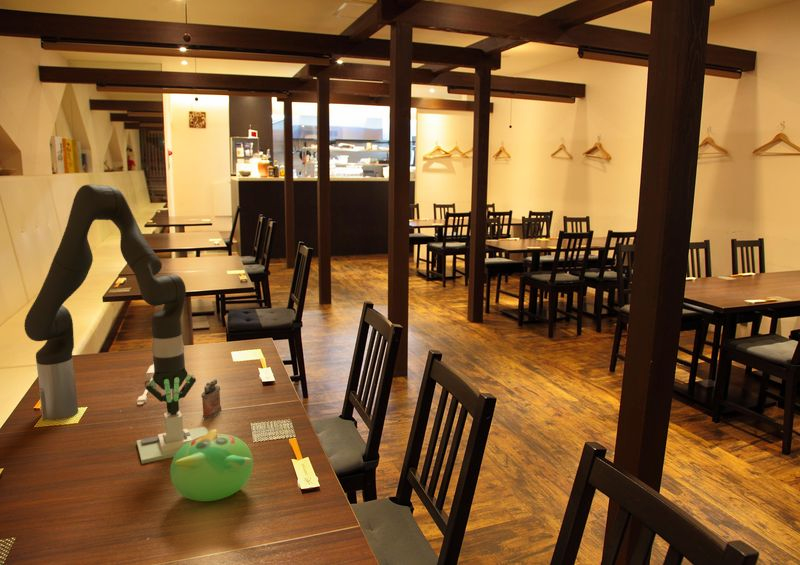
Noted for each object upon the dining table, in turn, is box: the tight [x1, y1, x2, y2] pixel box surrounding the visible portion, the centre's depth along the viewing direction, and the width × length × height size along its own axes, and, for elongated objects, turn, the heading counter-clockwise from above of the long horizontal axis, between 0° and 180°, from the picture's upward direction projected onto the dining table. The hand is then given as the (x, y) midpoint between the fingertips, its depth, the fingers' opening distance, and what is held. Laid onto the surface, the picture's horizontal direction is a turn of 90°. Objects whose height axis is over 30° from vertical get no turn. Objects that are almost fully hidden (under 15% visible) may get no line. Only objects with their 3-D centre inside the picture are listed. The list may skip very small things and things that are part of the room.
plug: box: [163, 409, 184, 443], centre depth 156 cm, size 4×4×8 cm
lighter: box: [200, 378, 222, 420], centre depth 176 cm, size 8×3×10 cm, turn 168°
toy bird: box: [169, 428, 254, 502], centre depth 133 cm, size 18×17×15 cm
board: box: [136, 426, 209, 465], centre depth 157 cm, size 18×12×3 cm, turn 119°
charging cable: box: [136, 362, 154, 406], centre depth 197 cm, size 5×32×3 cm, turn 12°
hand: (173, 413), depth 155 cm, fingers closed
